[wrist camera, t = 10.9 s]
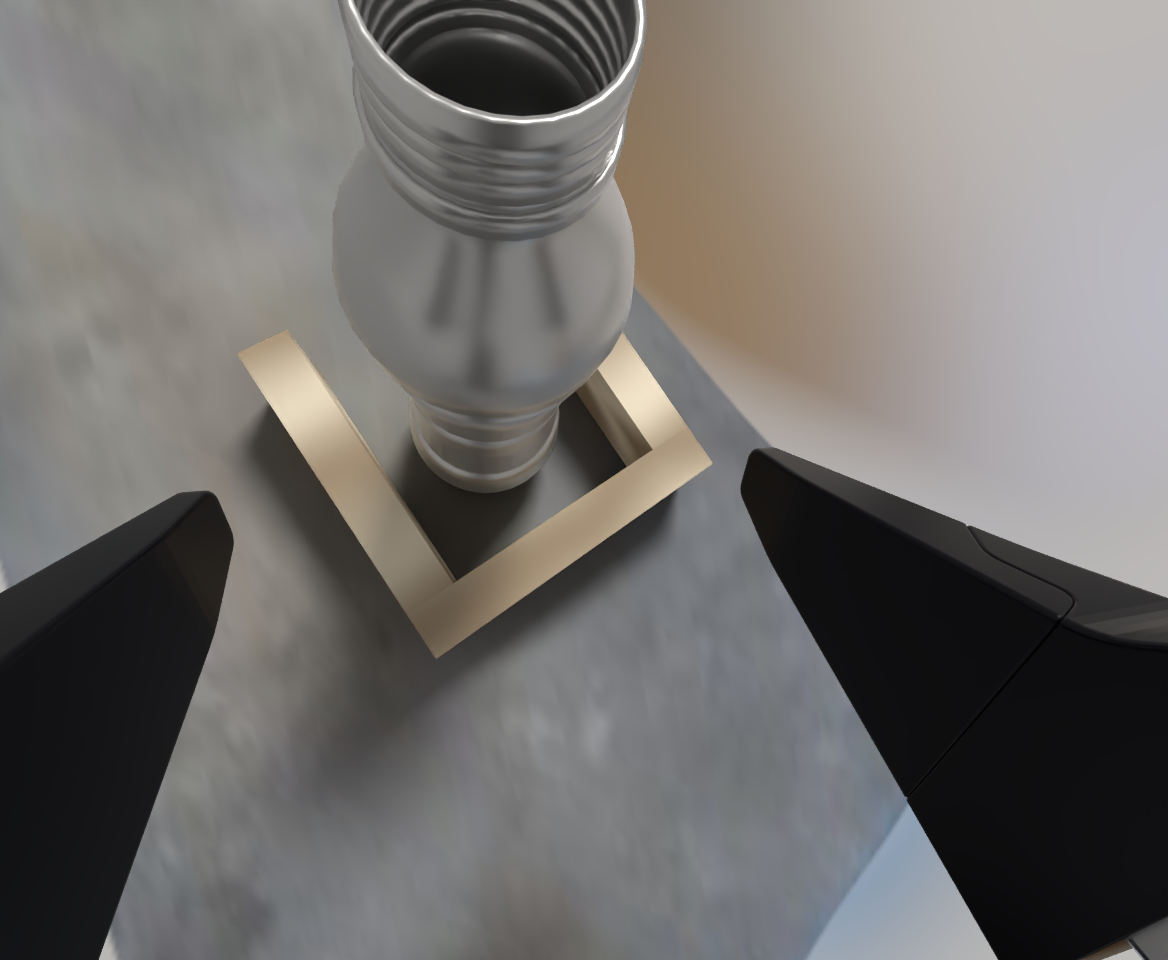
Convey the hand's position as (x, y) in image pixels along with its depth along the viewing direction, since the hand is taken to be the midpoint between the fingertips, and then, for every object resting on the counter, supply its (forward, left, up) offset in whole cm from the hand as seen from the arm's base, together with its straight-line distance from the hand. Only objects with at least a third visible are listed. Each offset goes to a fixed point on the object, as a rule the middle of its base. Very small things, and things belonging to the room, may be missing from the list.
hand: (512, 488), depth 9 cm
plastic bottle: (+5, -3, -16) cm, 17 cm away
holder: (+4, -3, -16) cm, 17 cm away
